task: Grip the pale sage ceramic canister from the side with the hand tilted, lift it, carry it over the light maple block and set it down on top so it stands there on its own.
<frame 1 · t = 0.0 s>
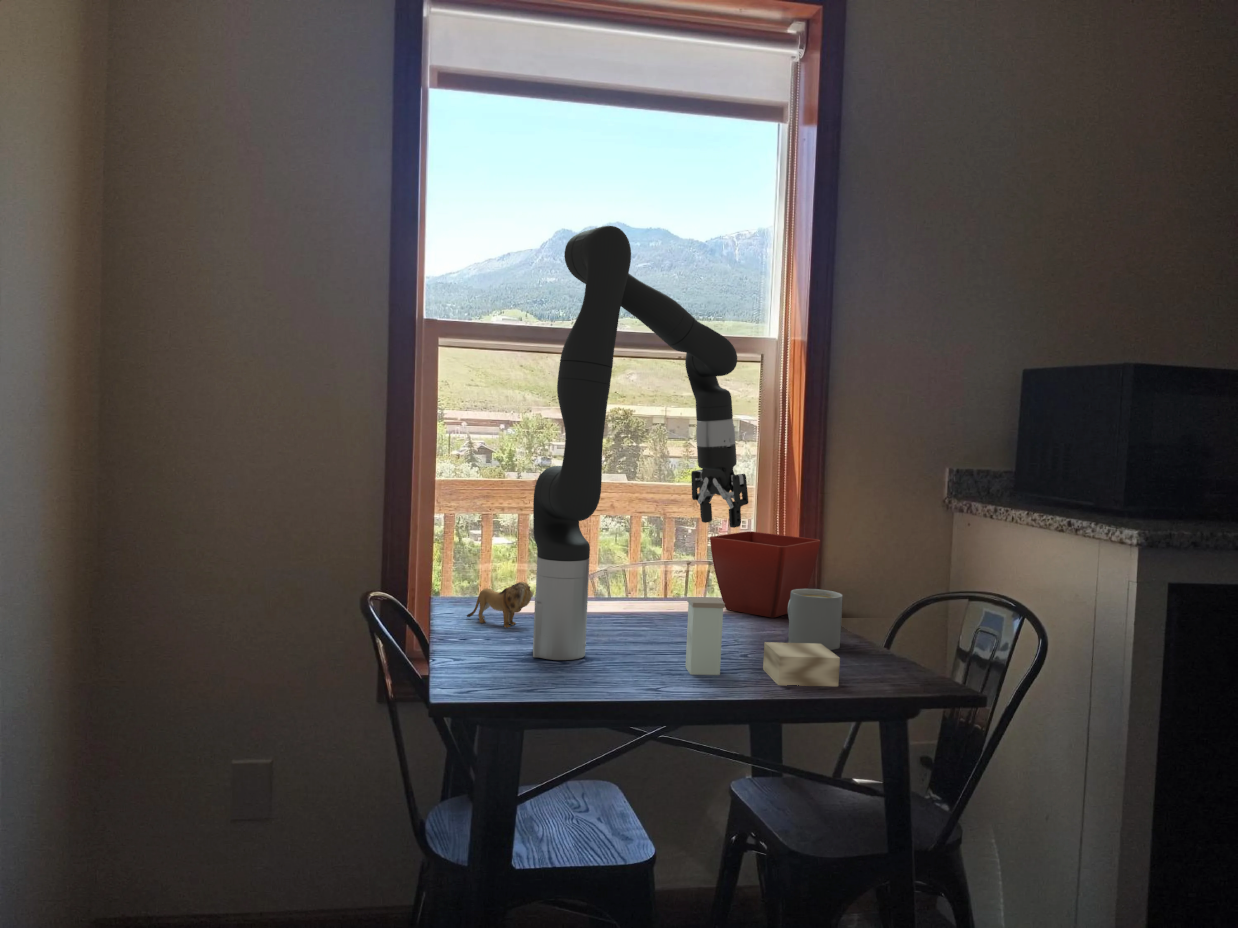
hand: (720, 524, 186), 22 cm above the table, tool pointing down, fingers open, 8 cm apart
maple block: (799, 679, 159), on the table
coffee mug: (810, 642, 187), on the table
sage canister: (702, 670, 160), on the table
lion figurine: (500, 624, 191), on the table
plant pot: (761, 611, 217), on the table
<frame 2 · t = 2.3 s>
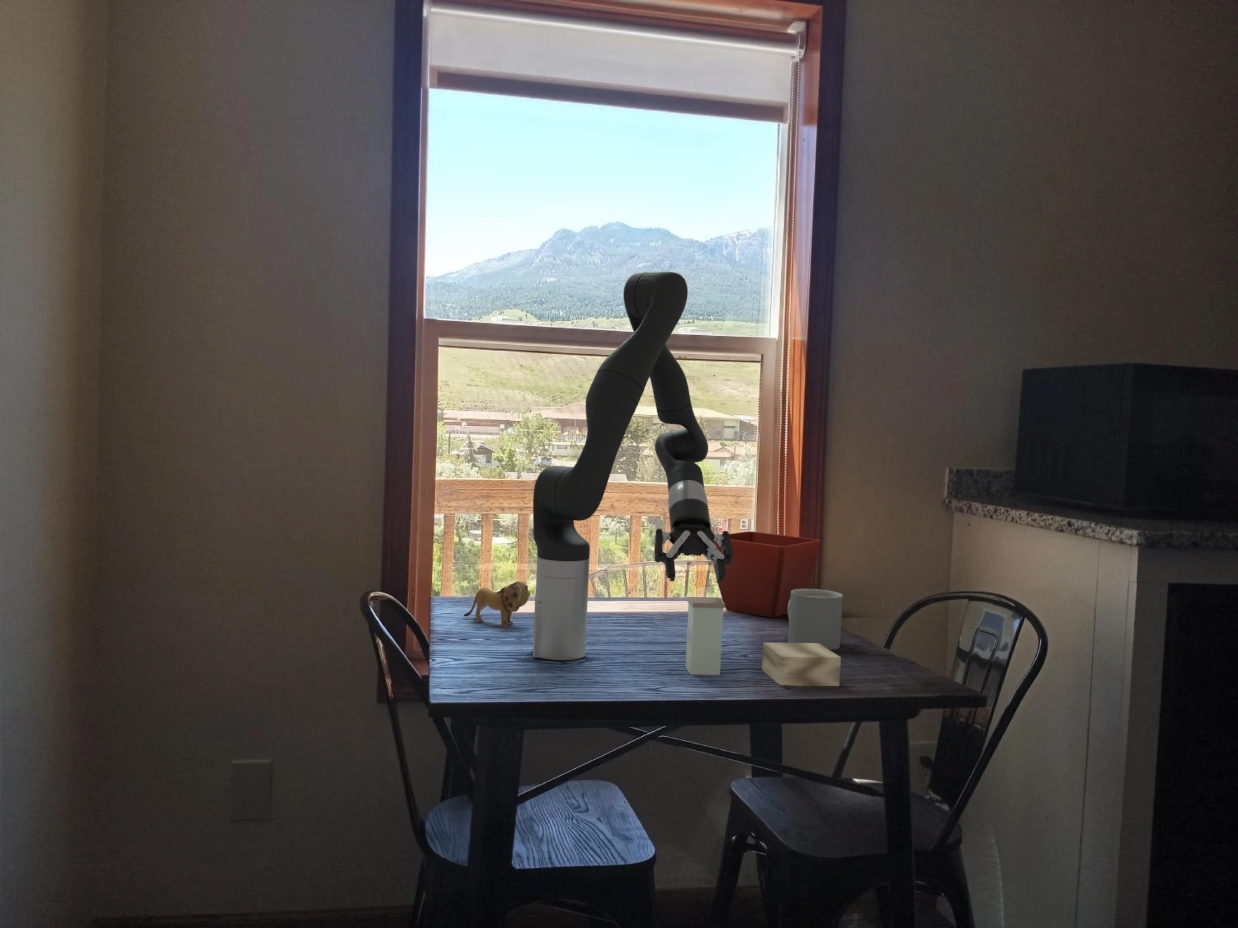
hand: (696, 579, 169), 14 cm above the table, tool tilted 45°, fingers open, 8 cm apart
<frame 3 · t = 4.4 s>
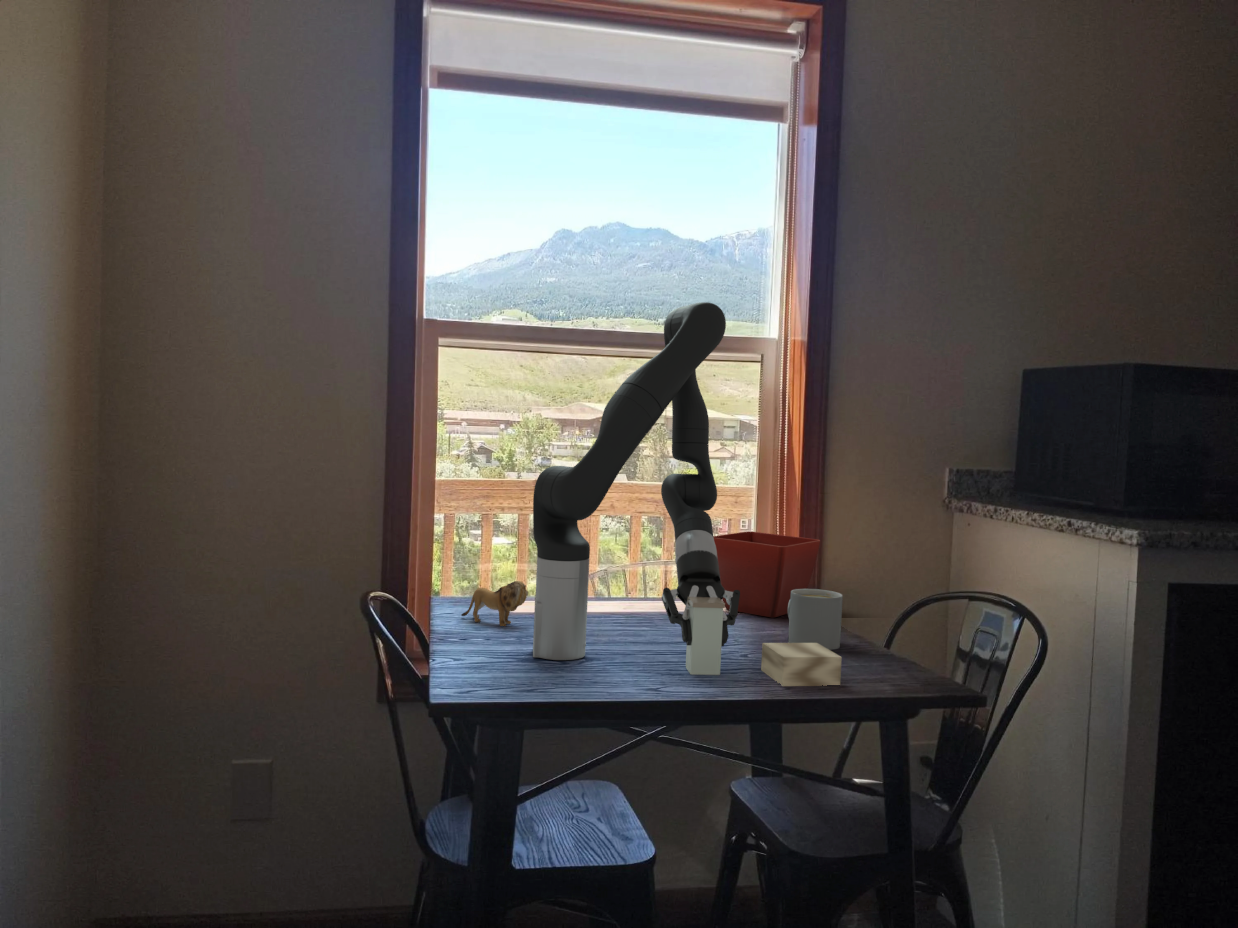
hand: (706, 642, 158), 5 cm above the table, tool tilted 45°, fingers closed on sage canister, 5 cm apart
sage canister: (702, 670, 160), on the table, touching gripper
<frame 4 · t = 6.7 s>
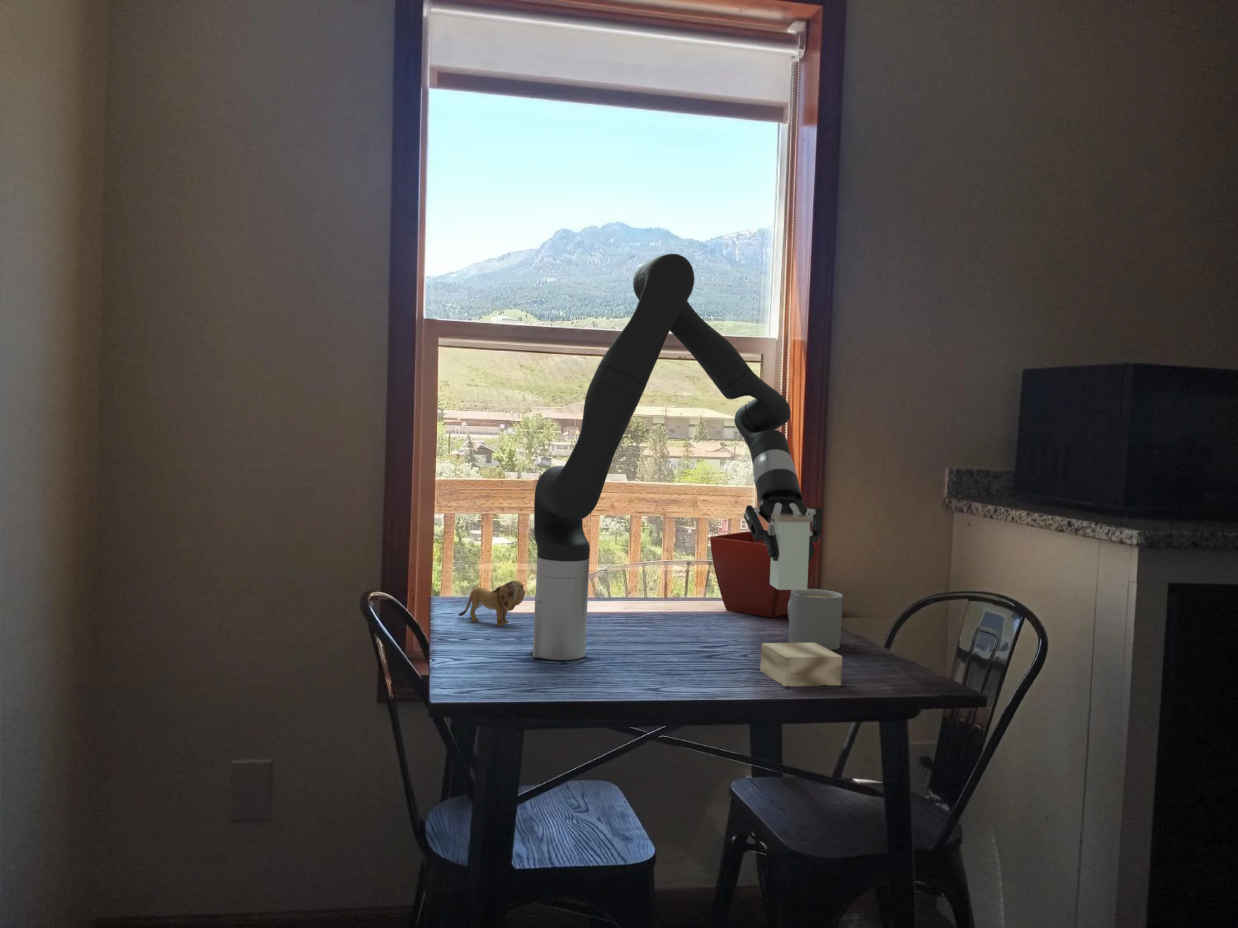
hand: (793, 557, 157), 20 cm above the table, tool tilted 45°, fingers closed on sage canister, 5 cm apart
sage canister: (788, 587, 159), point 15 cm above the table, touching gripper
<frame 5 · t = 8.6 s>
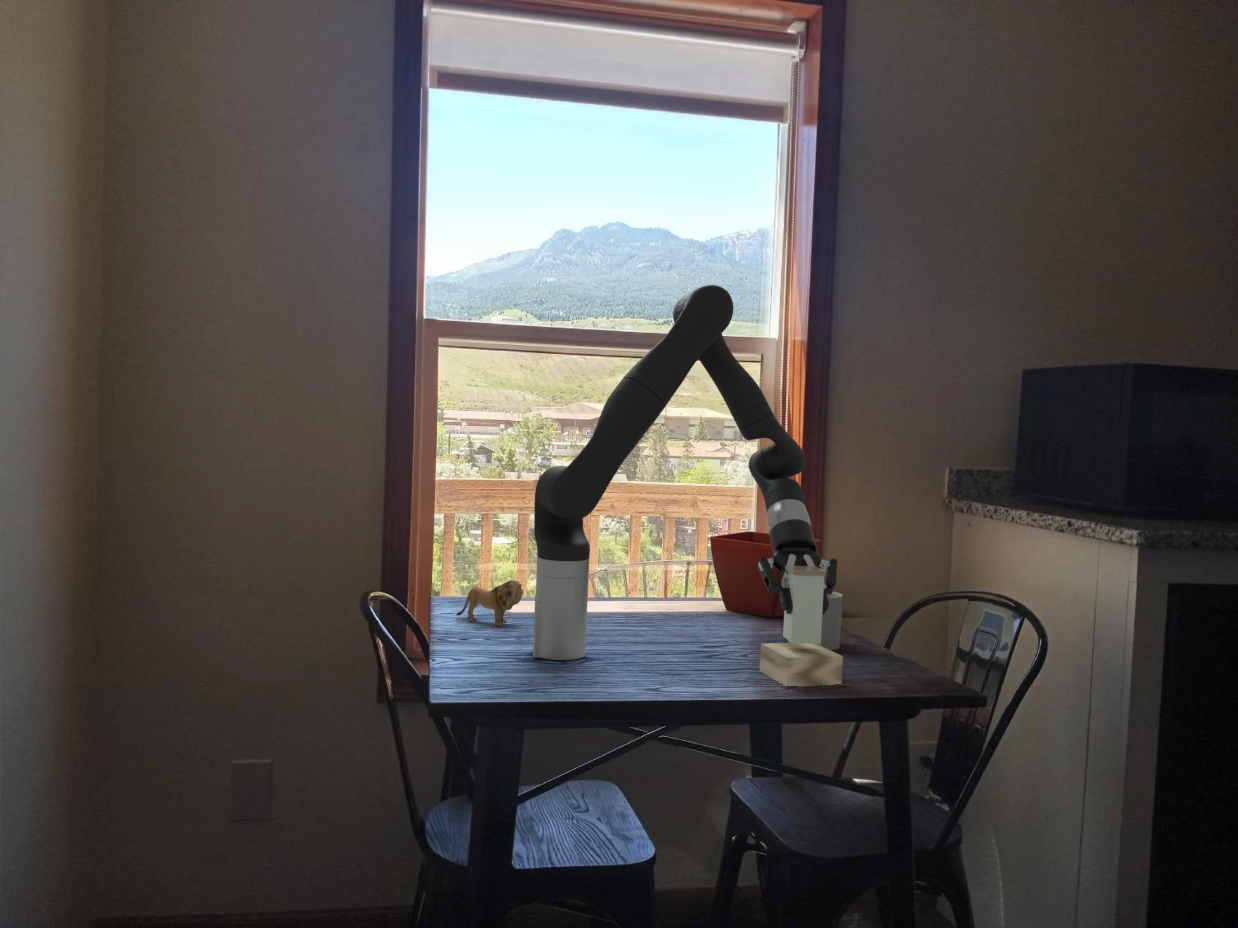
hand: (806, 611, 156), 12 cm above the table, tool tilted 45°, fingers closed on sage canister, 5 cm apart
sage canister: (801, 639, 159), point 6 cm above the table, touching gripper
when the fingers open (11 cm above the table, at t = 9.1 s): sage canister drops 1 cm, resting on maple block.
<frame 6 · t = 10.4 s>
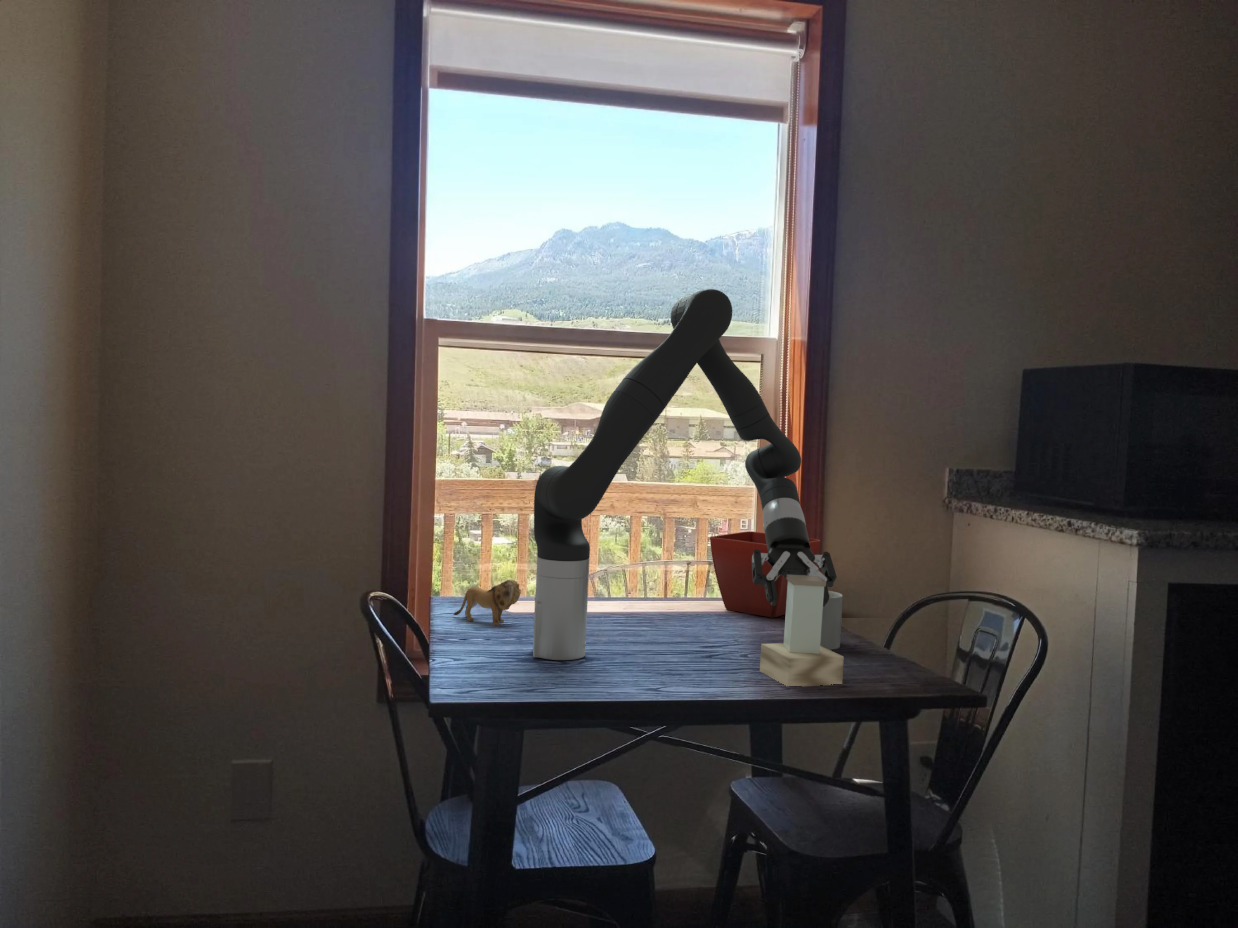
hand: (799, 603, 161), 12 cm above the table, tool tilted 45°, fingers open, 8 cm apart
maple block: (800, 679, 159), on the table, touching sage canister
sage canister: (801, 649, 159), point 5 cm above the table, touching maple block
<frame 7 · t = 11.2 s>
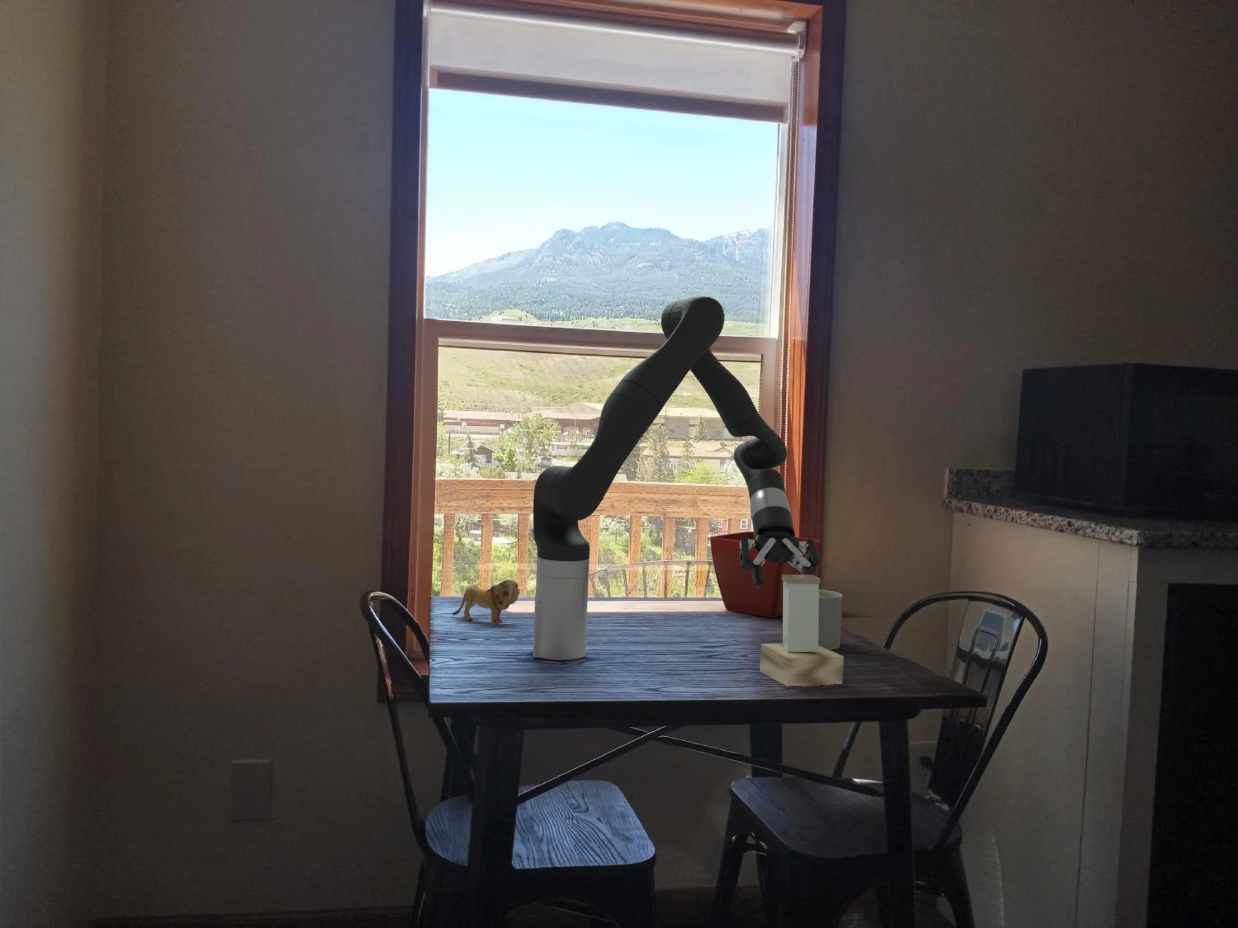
hand: (784, 586, 170), 13 cm above the table, tool tilted 45°, fingers open, 8 cm apart
maple block: (800, 679, 159), on the table
sage canister: (800, 648, 159), point 5 cm above the table
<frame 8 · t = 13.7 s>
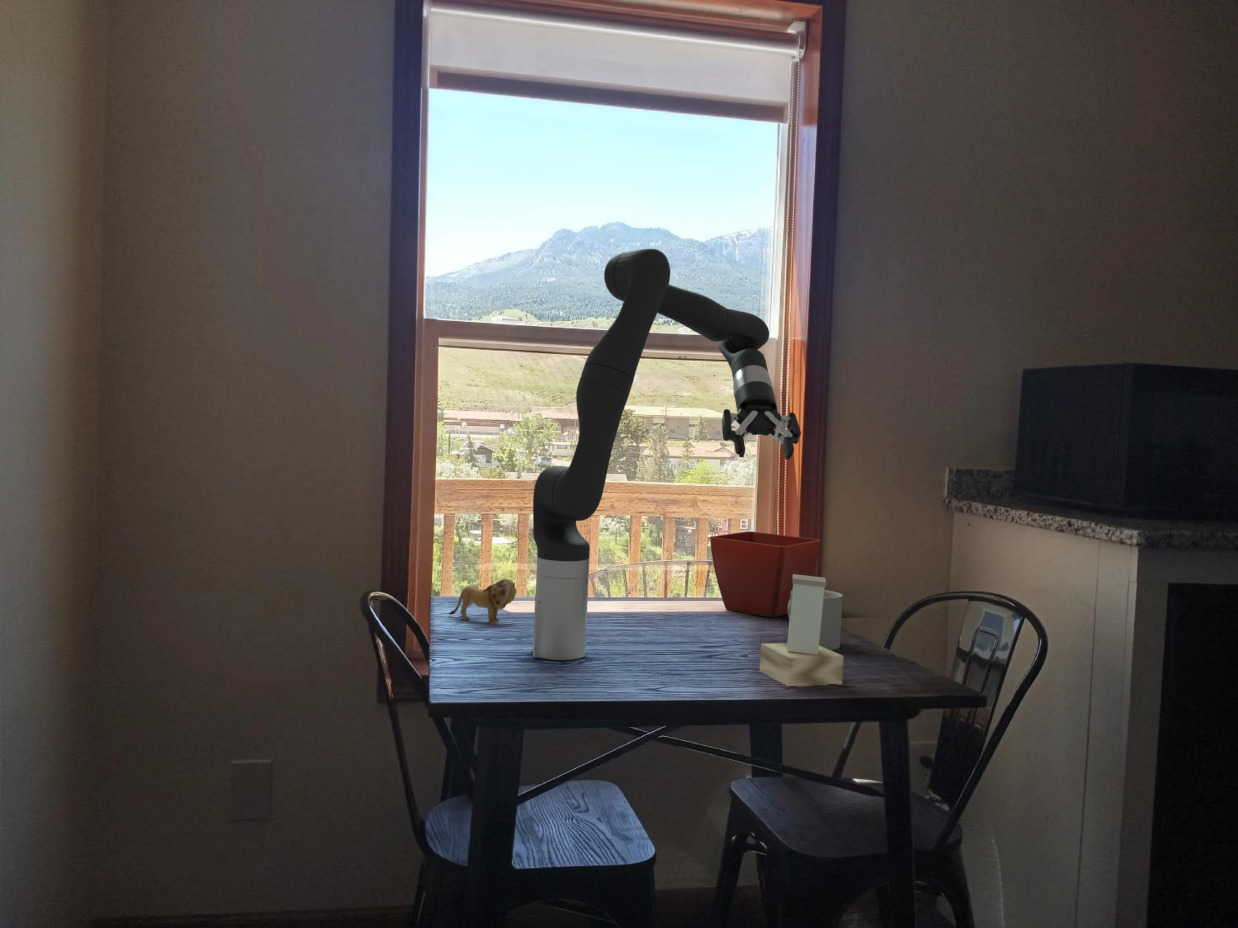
hand: (765, 455, 171), 37 cm above the table, tool tilted 45°, fingers open, 8 cm apart
maple block: (799, 679, 159), on the table, touching sage canister
sage canister: (802, 649, 158), point 5 cm above the table, touching maple block
at the end: sage canister inside the target area on the maple block (0.4 cm from its centre), point 5.1 cm above the maple block's base; sage canister tilted 2°; the gripper is holding nothing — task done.
